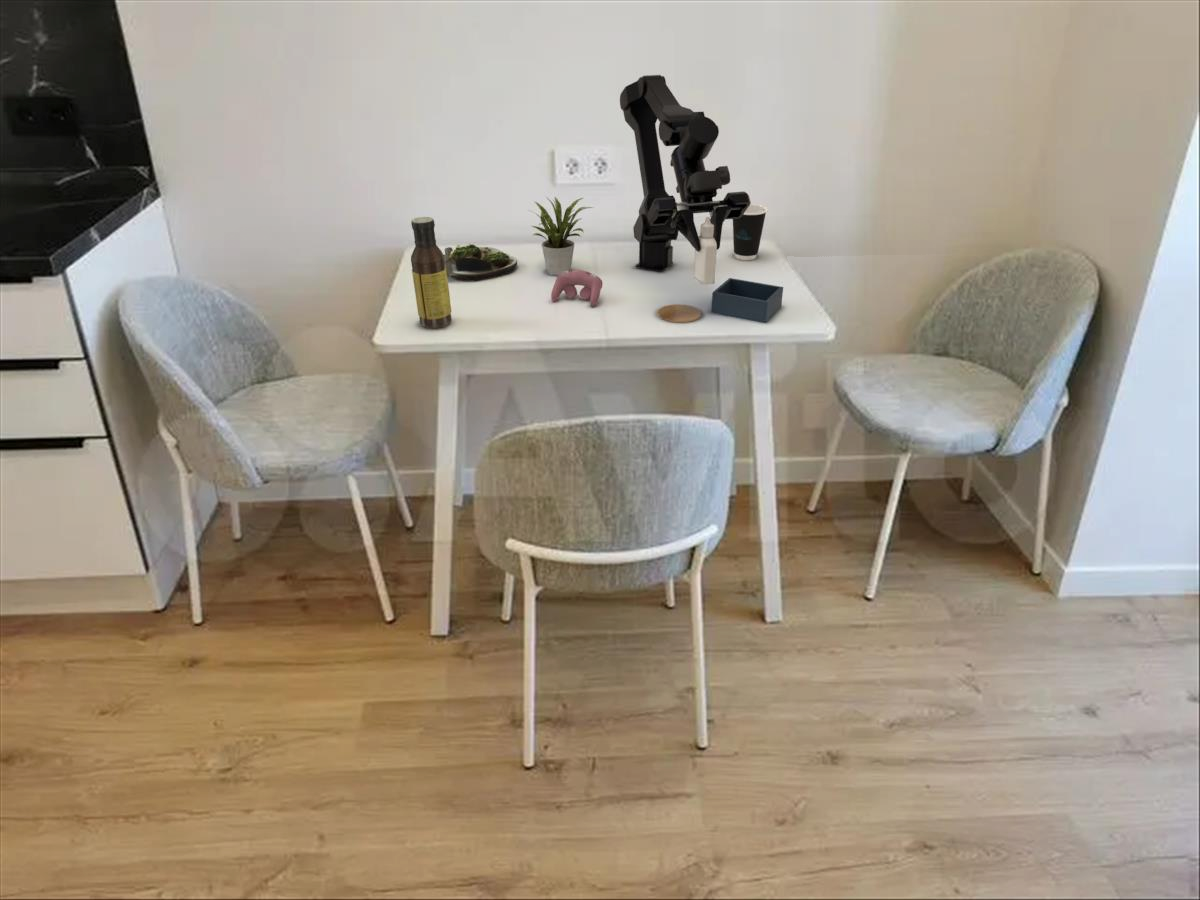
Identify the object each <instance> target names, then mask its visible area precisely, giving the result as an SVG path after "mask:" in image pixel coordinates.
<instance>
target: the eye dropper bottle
mask: <svg viewBox="0 0 1200 900" xmlns="http://www.w3.org/2000/svg"><path fill="white" fill-rule="evenodd" d="M710 219H711V217H710V216H706V217H705V220H704V222H703V223H702V224H700V231H699V233H700V234H699V235H698V237H699V241H700V247H701V250H700V251H699V252H697V251H696V249H695V248H694V261H693V262H694V265H693V279H694V280H695V281H696V282H697V283H699V284H701V285H703V286H704V285H705V286H707V285H713V284H715V282H716V281H715V279H716V268H717V267H716V266H717V253H718V250H717V243H716V241H715V239H714V238H713V233H714V225H713V224H711V223H710Z"/></svg>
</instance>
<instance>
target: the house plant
mask: <svg viewBox="0 0 1200 900" xmlns="http://www.w3.org/2000/svg"><path fill="white" fill-rule="evenodd" d="M546 199H547V200H548V201H549V202H550V204H551V205H552V209H553V211H554V215H555V221H556V223H554V220H553V219H552V217H551V215H550V214H549V212H548V211H547V209H546V208H545V207H544V206H542V205H541V204H540V203H538V202H537V201H534V203H535V204H536V206H538V209H539V210H540V215H539V214H538V213H536V212H534V214H536V216H537V217H539V218H540V222H541V223H539V224H538V225H539V226H537V225H531V227H532V228H535V229H537V230H538V231H540V232H541V233H544V234H545V235H546V236H547V238H546V236H544V235H543V234H541V233H539V232H535V233H533V234H532V236H538V237H541V238H543V239H545V240H544V241H542V243H541V248H542V254H543V258H544V263H545V269H546V273H547V274H548V275H551V276H559V275H560V274H561V273H562V272H563V271H570V270H572V264H573V257H574V249H575V242H574V241H573V240H571V239H568V238H569V237H581V234H579V233H578V231H581V232H582V233H583V234H585V233H584V229H583V228H582V227H577V228H575V229H573V228H574V226H575V225H576V224H577V223H578V222H579V221H580V220H582V219H583V217H582V218H577V219H575V218H576V216H577V214H578V213H580V212H581V211H584V210H586V209H594V208H595V207H594V206H593V207H592V206H582V207H578V209H574V207H575V206H576V205H577V204H578V202H580V201H581V200H583V199H584V197H580V198H578V199H576V200H574V201H573V202H572V203H571V204H570V205H569V206H567V208H566V209H565V211H564V214H563V212H562V211H563V210H562V204H561V202H560V201H559V199H558V198H557V197H556V196H554V199H552V200H550V198H549V197H546ZM575 210H576V211H575ZM527 211H529V212H532V213H533V210H528V209H527ZM574 211H575V212H574ZM573 212H574V213H573ZM574 219H575V220H574ZM540 226H543V227H540ZM572 229H573V230H572ZM576 231H577V233H575V232H576ZM573 232H574V233H573Z"/></svg>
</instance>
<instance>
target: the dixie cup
mask: <svg viewBox="0 0 1200 900" xmlns="http://www.w3.org/2000/svg"><path fill="white" fill-rule="evenodd" d="M767 212H768V208H767V207H766V206H763V205H760V204H756V203H755V204H754V203H751V204H750V205H749V207H748V208H747V210H746V211H745V213H744V214H743V216H742V217H740V218H737V219H732V236H733V239H732V240H733V253H734V257H735V259H737V260H740V261H741V260H743V261H751V260H755V259H757V255H758V254H759V249H760V244H761V240H762V235H763V229H764V223H765V219H766V214H767Z"/></svg>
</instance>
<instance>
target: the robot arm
mask: <svg viewBox="0 0 1200 900" xmlns="http://www.w3.org/2000/svg"><path fill="white" fill-rule="evenodd" d="M619 106H620V109H621V111H622V112H623V117H624V121H625V122H626V123H627V125H628V126H629V127H630V128H631V130H632V131H633V133H634V138H635V139H634V140H635V146H636V153H637V158H638V159H637V160H638V165H639V172H640V179H641V185H642V193H643V199H642V202H641V204H640V206H639V209H638V216H637V218H636V221H635V223H634V225H633V228H632V229H633V238H634V239H635V240H636V241H637V242H638V243H639V244H638V245H639V248H638V263H636V264H635V268H636V269H642V270H648V271H653V272H654V271H655V272H660V273H661V272H664V271H665V270H666V269H668V268H669V267H671V266H672V265H673V264H674V261H673V257H674V255H673V252H674V246H673V245H672V241H677V239H678V236H679V233H680V234H681V235H682V236H683V237H684V238H685V239H686V240H687V241H688V242H689V243H690V245H691V246H692V247H693V248H694V250H695V249H696V251H697V252H699V251H700V250H701V247H700V241H699V235H698V231H697V226H696V224H695V220H694V219H695V218H694V214H703V213H708V214H709V217H710V223H711V224H713V225H714V233H713V238H714V239H715V241H716V243H717V251H718V250H719V249H720V248H721V239H722V231H723V225H724V222H725V221H726V220H733V219H737V218H740V217H742V216H743V214H744V213H745V211H746V210H747V208H748V207H749V205H750V204H752V202H751V198H750V195H749V193H747V192H746V191H745V190H743V191H730V192H727V193H726V194H725V197H724V198H723V200H721V199H720V200H714V199H713V198H716V197H717V196H718V191H717V190H722V189H723V186H726V185H728V184H730V183H731V173H730V170H729V168H728V167H729V166H728V165H721V166H718V167H715V169H714V170H709V169H706V166H705V161H704V159H706V158H707V157H708V156H709V154H710V152H711V150H712V148H713V147H714V144H715V142H716V141H717V139H718V137H719V133H720V130H719V125H717V124H716V123H715V121H714V120H713V119H711V118H709V117H707V116H705V112H704V111H693V110H692V109H691V108H688V107H685V106H682V105H681V104H680V103H679V101H678V100H677V98H676V97H675V95H674V94H673V92H672V90H671V89H670V87H669V86H668V85H667V81H666V77H665V76H664V75H662V74H651V75H647V74H646V75H642V76H639V78H638V79H637V80H636V81H634V82H632V83H631V84H628V85H626V86H625V87H624V88H623V89H622V90H621V92H620V95H619ZM658 121H659V124H658V133H657V127H656V123H657V122H658ZM658 137H659V139H660V141H661V142H662V144H663V145H664V146H665V147H675V148H674V149H673V150H672V152H671V154H670V161H669V162H670V163H669V164H670V167H673V171H674V172H673V173H674V176H675V180H676V184H677V185H676V187H675V191H676V194H679V197H680V201H676V198H675V196H674V195H669V193H668V192H667V191H666V187H665V186H666V185H665V179H664V173H663V166H662V160H661V159H662V158H661V153H660V152H661V151H660V146H659V140H658Z"/></svg>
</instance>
